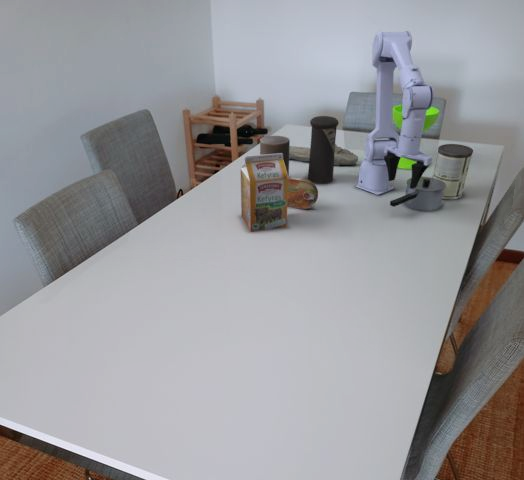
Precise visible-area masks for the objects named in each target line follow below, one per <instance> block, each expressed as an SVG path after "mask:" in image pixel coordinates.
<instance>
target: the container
mask: <svg viewBox="0 0 524 480" xmlns="http://www.w3.org/2000/svg"><path fill="white" fill-rule="evenodd" d="M339 124H340V123H339V120H338V118H336V117H335V116H334V117H333V116H329V115H319V116H317V115H316V116H314V117H312V118H311V119H310V121H309V125H310V126H311V133H310V135H311V136H310V147H309V148H310V159H309V162H308V170H307V180H309V181H311V182H313V183H314V184H319V185H320V184H321V185H323V184H330V183H332V182H333V180H334V166H335V165H334V154H335V144H336V138H337V127H338V126H339Z"/></svg>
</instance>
